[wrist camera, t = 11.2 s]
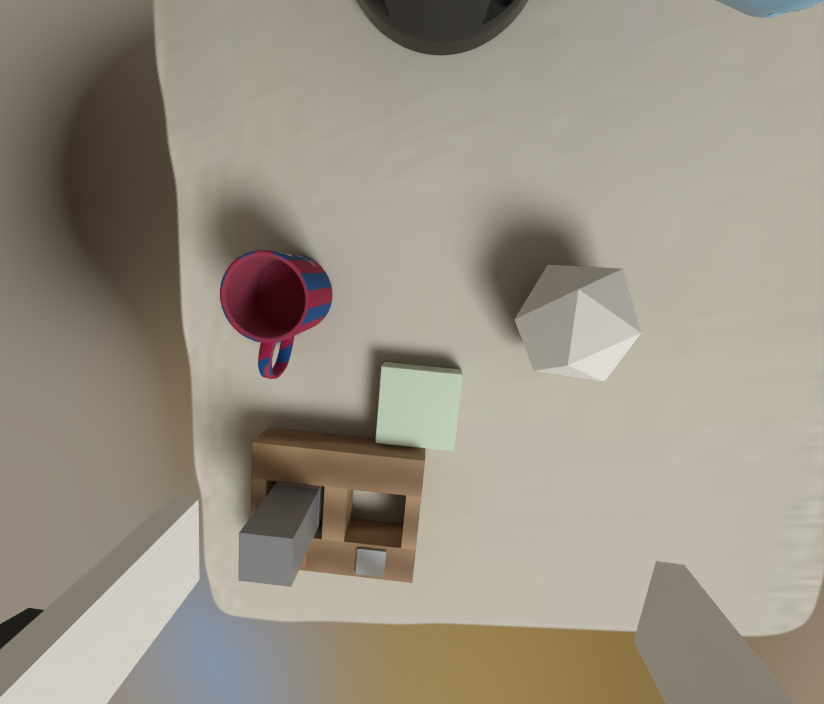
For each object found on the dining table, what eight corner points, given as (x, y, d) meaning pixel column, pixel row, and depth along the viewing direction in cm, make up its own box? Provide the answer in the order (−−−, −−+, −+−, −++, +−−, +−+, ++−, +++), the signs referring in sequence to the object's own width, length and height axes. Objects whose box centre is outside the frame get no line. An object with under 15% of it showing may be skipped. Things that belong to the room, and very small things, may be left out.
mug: (339, 264, 36) (318, 262, 29) (317, 372, 38) (292, 394, 31) (265, 246, 36) (226, 240, 29) (247, 355, 38) (207, 372, 31)
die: (525, 380, 38) (634, 415, 30) (472, 325, 33) (586, 349, 25) (568, 305, 39) (683, 320, 31) (524, 241, 34) (648, 238, 26)
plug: (286, 468, 40) (239, 532, 30) (327, 473, 40) (293, 538, 30) (285, 506, 41) (238, 580, 31) (325, 510, 41) (291, 586, 31)
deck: (384, 361, 37) (381, 366, 35) (461, 369, 37) (462, 374, 35) (378, 434, 39) (375, 442, 37) (452, 442, 39) (453, 451, 37)
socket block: (268, 427, 39) (251, 443, 36) (425, 444, 39) (424, 462, 35) (265, 540, 41) (249, 565, 38) (413, 556, 41) (412, 584, 37)
